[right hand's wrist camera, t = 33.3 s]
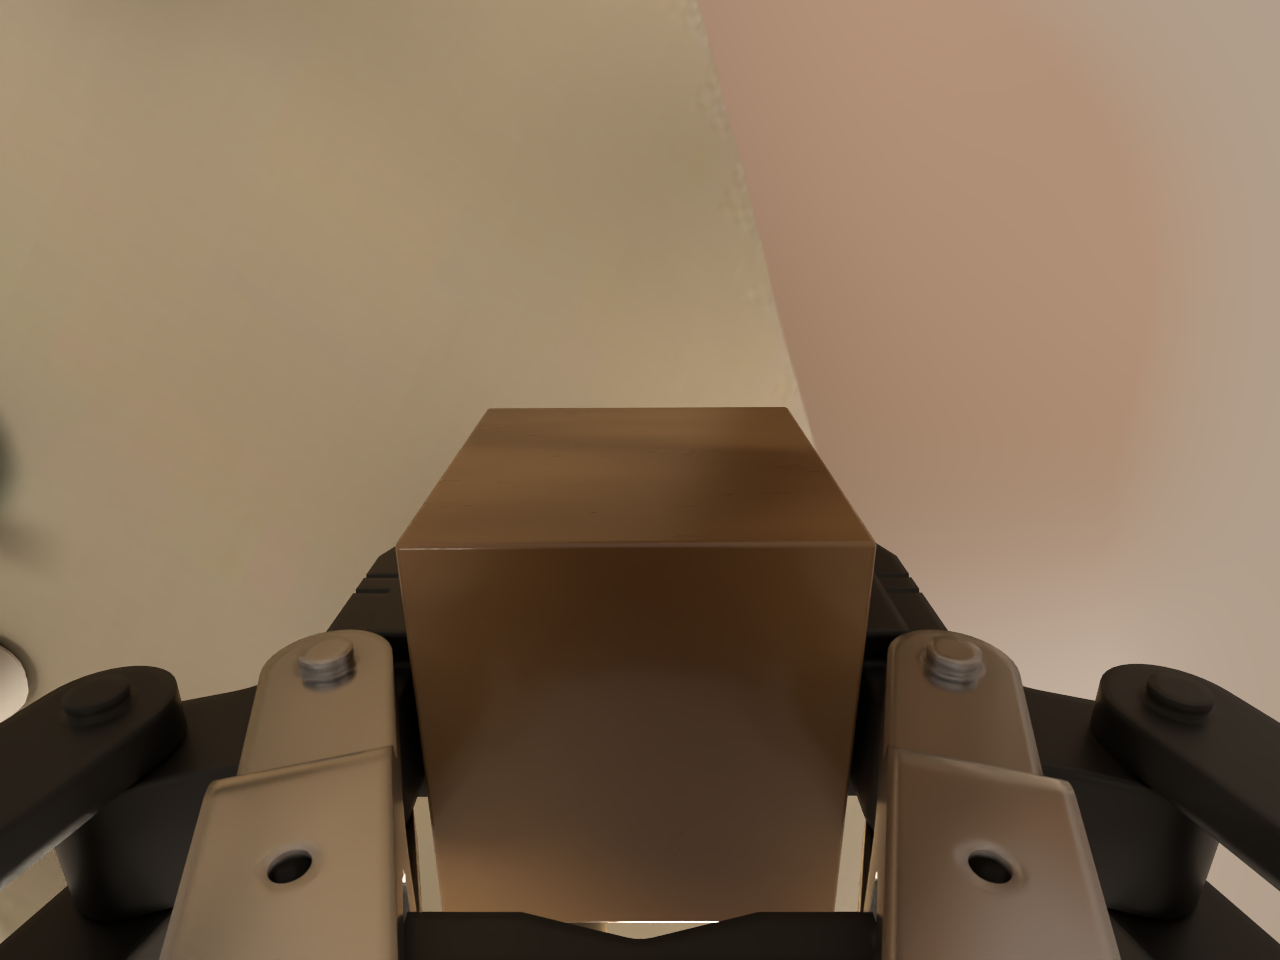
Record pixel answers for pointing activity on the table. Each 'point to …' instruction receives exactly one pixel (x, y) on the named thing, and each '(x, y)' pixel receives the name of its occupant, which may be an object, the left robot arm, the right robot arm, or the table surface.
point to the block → (637, 664)
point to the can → (11, 684)
